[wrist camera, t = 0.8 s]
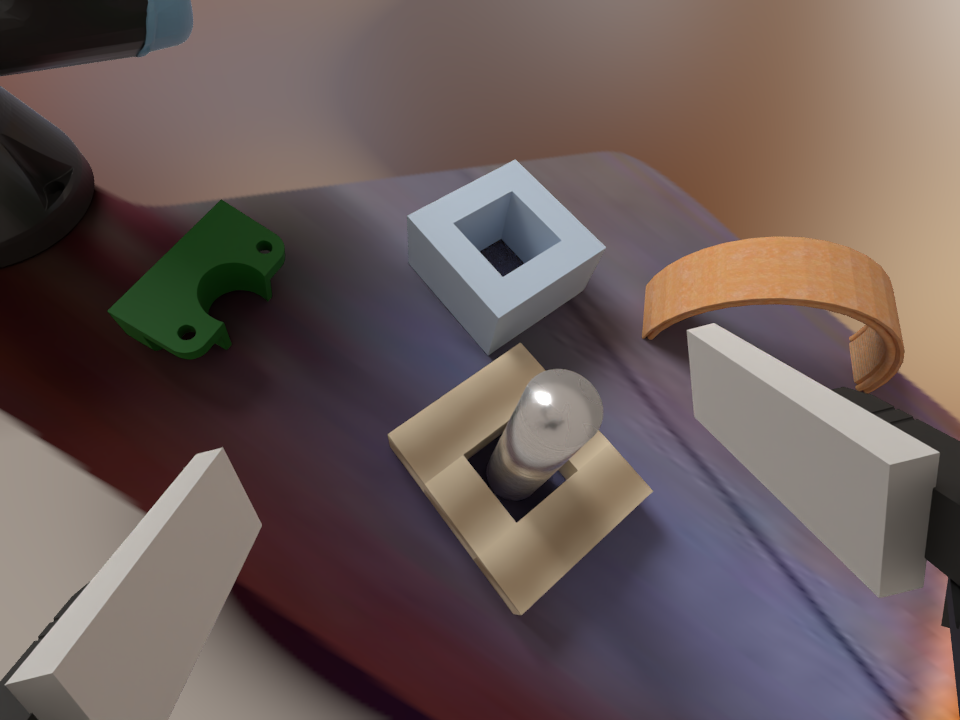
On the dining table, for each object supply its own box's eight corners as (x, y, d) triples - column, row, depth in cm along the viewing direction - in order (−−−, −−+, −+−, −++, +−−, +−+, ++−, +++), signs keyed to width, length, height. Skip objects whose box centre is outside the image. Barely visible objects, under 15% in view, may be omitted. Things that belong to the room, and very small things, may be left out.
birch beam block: (389, 446, 37) (387, 434, 34) (513, 359, 41) (520, 342, 38) (513, 614, 33) (521, 615, 30) (636, 499, 37) (653, 491, 34)
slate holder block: (408, 263, 44) (407, 215, 38) (504, 209, 48) (515, 159, 42) (487, 355, 41) (498, 318, 35) (583, 290, 45) (606, 247, 39)
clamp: (227, 375, 42) (175, 383, 33) (162, 336, 42) (91, 333, 33) (305, 255, 43) (275, 231, 34) (243, 215, 42) (195, 180, 33)
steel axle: (475, 467, 37) (504, 398, 24) (516, 435, 38) (564, 354, 26) (510, 512, 36) (560, 464, 23) (551, 478, 37) (619, 414, 24)
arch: (866, 396, 43) (983, 343, 34) (640, 338, 43) (698, 270, 34) (858, 339, 46) (965, 275, 37) (645, 284, 46) (700, 207, 37)
